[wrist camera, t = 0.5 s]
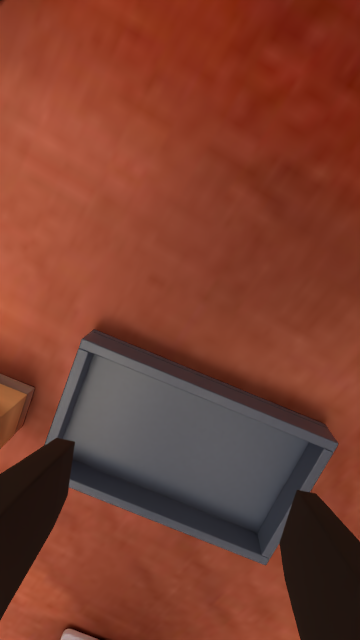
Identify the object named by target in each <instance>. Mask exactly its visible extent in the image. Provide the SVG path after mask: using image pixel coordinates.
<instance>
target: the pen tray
mask: <svg viewBox="0 0 360 640" xmlns="http://www.w3.org/2000/svg"><path fill="white" fill-rule="evenodd" d="M55 438H60V439H65V440H70V441H74V442H75V446H74V453H73V460H72V467H71V474H70V481H69V488H72V489H75V490H77V491H80V492H82V493H85V494H87V495H90V496H92V497H95V498H97V499H100V500H102V501H105V502H107V503H110V504H112V505H115V506H117V507H120V508H122V509H125V510H127V511H130V512H132V513H135V514H137V515H140V516H143V517H145V518H148V519H150V520H153V521H155V522H158V523H160V524H163V525H165V526H168V527H170V528H173V529H175V530H178V531H180V532H183V533H185V534H188V535H190V536H193V537H195V538H198V539H200V540H203V541H205V542H208V543H210V544H213V545H216V546H218V547H221V548H223V549H226V550H228V551H231V552H233V553H236V554H238V555H241V556H243V557H246V558H248V559H251V560H253V561H256V562H258V563H261V564H263V565H266V564H267V563H268V561H269V559H270V558H271V556H272V555H273V553H274V551H275V550H276V548H277V546H278V545H279V543H280V539H281V536H282V533H283V530H284V527H285V524H286V521H287V518H288V515H289V512H290V509H291V505H292V502H293V499H294V496H295V493H296V490H301V491H305V492H310V491H311V490H312V488H313V486H314V485H315V483H316V481H317V479H318V478H319V476H320V474H321V473H322V471H323V469H324V468H325V466H326V464H327V463H328V461H329V459H330V458H331V456H332V454H333V452H334V451H335V449H336V448H337V446H338V442H337V441H336V439H335V438H334V436H333V435H332V434H331V432H330V431H329V429H328V428H327V426H326V425H325V424H323V423H321V422H318V421H316V420H314V419H311V418H309V417H306V416H304V415H301V414H299V413H297V412H294V411H292V410H289V409H287V408H284V407H282V406H280V405H277V404H275V403H272V402H270V401H267V400H265V399H263V398H260V397H258V396H255V395H253V394H250V393H248V392H246V391H243V390H241V389H238V388H236V387H233V386H231V385H229V384H226V383H224V382H221V381H219V380H216V379H214V378H212V377H209V376H207V375H204V374H202V373H199V372H197V371H195V370H192V369H190V368H187V367H185V366H182V365H180V364H178V363H175V362H173V361H170V360H168V359H165V358H163V357H161V356H158V355H156V354H153V353H151V352H148V351H146V350H144V349H141V348H139V347H136V346H134V345H131V344H129V343H127V342H124V341H122V340H119V339H117V338H114V337H112V336H110V335H107V334H105V333H102V332H100V331H97V330H95V329H94V330H93V331H91V332H90V333H89V334H88V335H86V336H85V337H84V338H83V339H82V340H81V343H80V346H79V349H78V351H77V354H76V357H75V360H74V363H73V366H72V368H71V371H70V374H69V377H68V380H67V383H66V385H65V388H64V391H63V394H62V397H61V399H60V402H59V405H58V408H57V411H56V414H55V416H54V419H53V422H52V425H51V428H50V431H49V433H48V436H47V439H46V442H45V445H46V444H47V443H49V442H51V441H52V440H54V439H55Z"/></svg>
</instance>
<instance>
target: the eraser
mask: <svg viewBox="0 0 360 640" xmlns="http://www.w3.org/2000/svg"><path fill="white" fill-rule="evenodd" d="M34 390H35V388H34V387H32V386H29V385H27V384H24V383H22V382H20V381H17V380H15V379H12V378H10V377H7V376H5V375H2V374H0V449H1V448H2V447H3V446H4V445H5V444H6V443H7V442H8V441H9V440H10V439H11V438H12V437H13V436H14V434H15V433H16V432H17V431H18V430H19V429H20V428H21V427H22V426H23V423H24V420H25V417H26V414H27V411H28V408H29V405H30V402H31V399H32V396H33V393H34Z"/></svg>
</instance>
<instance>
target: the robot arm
mask: <svg viewBox="0 0 360 640" xmlns="http://www.w3.org/2000/svg"><path fill="white" fill-rule="evenodd" d="M74 446H75V442H74V441H70V440H65V439H60V438H55V439H54V440H52V441H51V442H49V443H47V444H46V445H44V446H43V447H41V448H40V449H38V450H37V451H35V452H34V453H32V454H31V455H29V456H28V457H26V458H25V459H23V460H22V461H20V462H19V463H17V464H15V465H14V466H12V467H11V468H9V469H7V470H6V471H4V472H3V473H1V474H0V620H1V618H2V616H3V614H4V613H5V611H6V609H7V607H8V605H9V603H10V602H11V600H12V598H13V597H14V595H15V593H16V591H17V590H18V588H19V586H20V584H21V583H22V581H23V579H24V578H25V576H26V574H27V572H28V571H29V569H30V567H31V566H32V564H33V562H34V560H35V559H36V557H37V555H38V553H39V552H40V550H41V548H42V546H43V545H44V543H45V541H46V539H47V538H48V536H49V534H50V532H51V531H52V529H53V527H54V525H55V523H56V520H57V518H58V516H59V514H60V511H61V509H62V507H63V505H64V502H65V500H66V498H67V495H68V488H69V481H70V474H71V467H72V460H73V453H74ZM280 549H281V556H282V564H283V570H284V576H285V581H286V585H287V589H288V593H289V597H290V601H291V605H292V609H293V613H294V616H295V620H296V624H297V628H298V632H299V635H300V639H301V640H360V542H359V540H358V539H357V538H356V537H355V536H354V535H353V534H352V533H351V532H350V530H349V529H348V528H347V527H346V526H345V525H344V524H343V523H342V522H341V520H340V519H339V518H338V517H337V516H336V515H335V514H334V513H333V512H332V510H331V509H330V508H329V507H328V506H327V505H326V504H325V503H324V502H323V501H322V500H321V499H320V497H319V496H318V495H317V494H315V493H310V492H305V491H301V490H296V493H295V496H294V499H293V502H292V505H291V509H290V512H289V515H288V518H287V521H286V524H285V527H284V530H283V533H282V536H281V539H280ZM60 640H99V639H96V638H94V637H91V636H89V635H86V634H83V633H81V632H78V631H76V630H73V629H66V630H65V631H64V632H63V634H62V637H61V639H60Z"/></svg>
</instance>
